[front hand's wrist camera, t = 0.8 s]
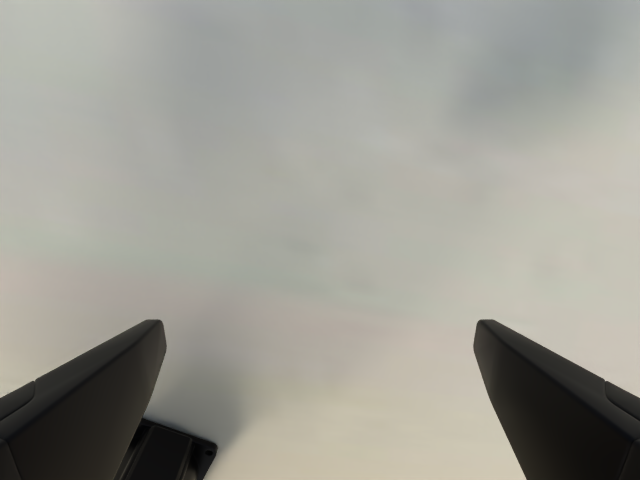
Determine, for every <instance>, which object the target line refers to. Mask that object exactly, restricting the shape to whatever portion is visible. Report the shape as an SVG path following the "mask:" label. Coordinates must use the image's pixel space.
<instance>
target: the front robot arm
mask: <svg viewBox="0 0 640 480" xmlns="http://www.w3.org/2000/svg"><path fill="white" fill-rule="evenodd" d="M166 347H167V345H166V338H165V332H164V326H163V323H162V321H161V320H145V321H143V322H141V323H139V324H138V325H136V326H134V327H132V328H130V329H128V330H126V331H125V332H123V333H121V334H119V335H117V336H115V337H113V338H112V339H110V340H108V341H106V342H104V343H102V344H100V345H99V346H97V347H95V348H93V349H91V350H89V351H87V352H86V353H84V354H82V355H80V356H78V357H76V358H74V359H73V360H71V361H69V362H67V363H65V364H63V365H61V366H60V367H58V368H56V369H54V370H52V371H50V372H49V373H47V374H45V375H43V376H41V377H39V378H37V379H36V380H35V381H32V382H30V383H28V384H26V385H24V386H22V387H21V388H19V389H17V390H15V391H13V392H11V393H9V394H7V395H5V396H3V397H1V398H0V480H203V478H204V476H205V475H206V473H207V471H208V469H209V467H210V465H211V463H212V462H213V460H214V458H215V456H216V453H217V449H218V447H217V445H216V444H214V443H212V442H209V441H206V440H203V439H200V438H197V437H195V436H192V435H189V434H186V433H183V432H180V431H177V430H174V429H172V428H169V427H166V426H163V425H160V424H157V423H154V422H151V421H149V420H146V419H143V418H142V416H143V414H144V412H145V410H146V408H147V405H148V403H149V401H150V398H151V396H152V393H153V390H154V387H155V384H156V381H157V378H158V375H159V372H160V369H161V365H162V362H163V359H164V356H165V353H166ZM473 347H474V353H475V356H476V359H477V362H478V365H479V369H480V372H481V375H482V378H483V381H484V384H485V387H486V390H487V393H488V396H489V398H490V401H491V403H492V405H493V408H494V410H495V412H496V414H497V416H498V418H499V421H500V423H501V425H502V427H503V429H504V431H505V434H506V436H507V438H508V440H509V442H510V444H511V447H512V449H513V451H514V453H515V455H516V457H517V460H518V462H519V464H520V466H521V468H522V470H523V473H524V475H525V477H526V479H527V480H640V398H639V397H637V396H635V395H633V394H631V393H629V392H627V391H625V390H623V389H621V388H619V387H618V386H616V385H614V384H612V383H610V382H608V381H605V380H604V379H603V378H601V377H599V376H597V375H595V374H593V373H592V372H590V371H588V370H586V369H584V368H582V367H580V366H579V365H577V364H575V363H573V362H571V361H569V360H567V359H566V358H564V357H562V356H560V355H558V354H556V353H554V352H553V351H551V350H549V349H547V348H545V347H543V346H541V345H540V344H538V343H536V342H534V341H532V340H530V339H528V338H527V337H525V336H523V335H521V334H519V333H517V332H515V331H514V330H512V329H510V328H508V327H506V326H504V325H502V324H501V323H499V322H497V321H495V320H479V321H478V323H477V326H476V332H475V338H474V345H473Z"/></svg>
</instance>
